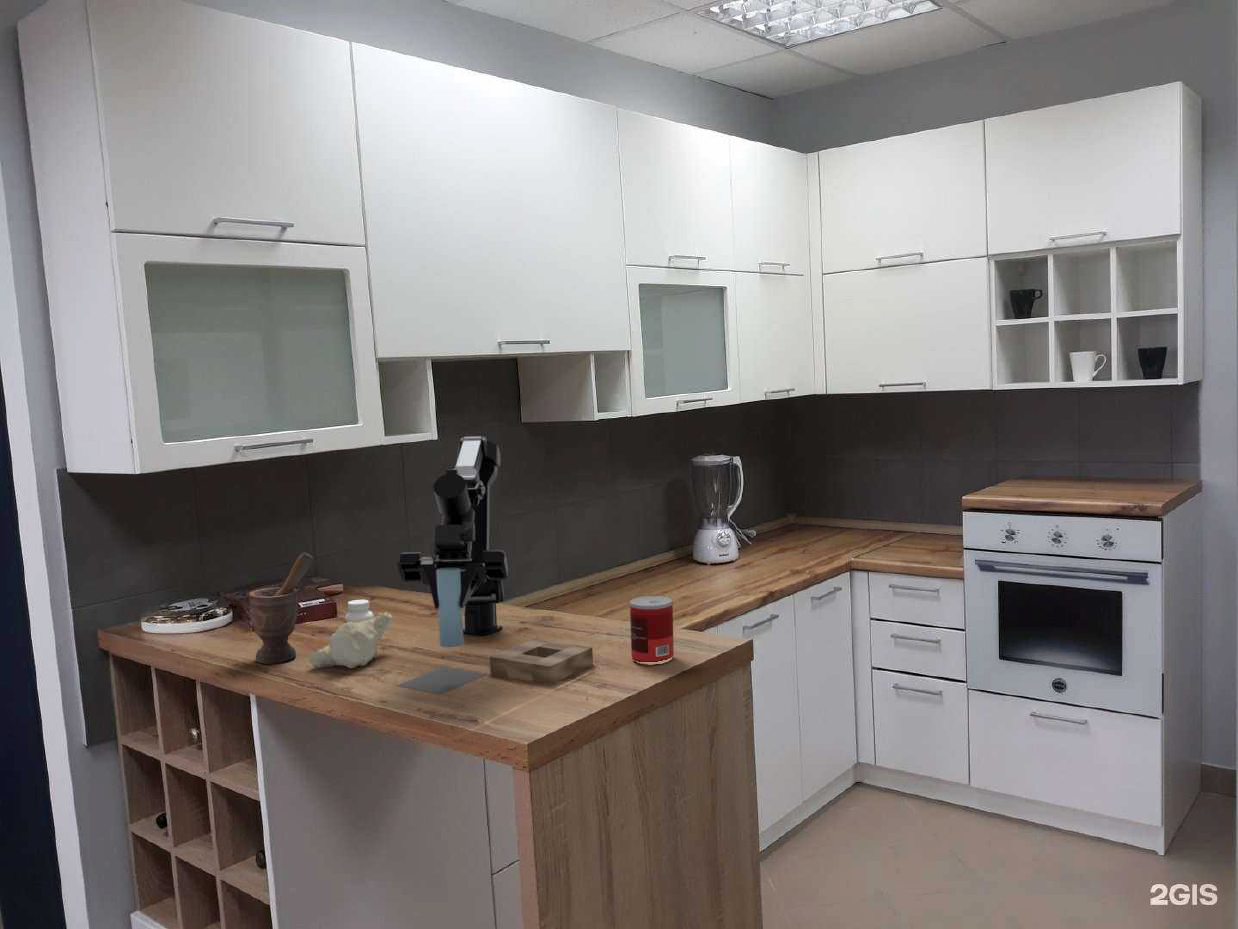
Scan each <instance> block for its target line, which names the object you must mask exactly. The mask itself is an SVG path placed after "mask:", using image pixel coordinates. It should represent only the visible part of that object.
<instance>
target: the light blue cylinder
mask: <svg viewBox="0 0 1238 929" xmlns="http://www.w3.org/2000/svg"><path fill="white" fill-rule="evenodd" d="M437 591H438V609H437V610H438V628H439V633H438V634H439V646H440V647H444V648H456V647H461V646H463V645H464V633H463V629H464V624H463V608H461V607H460V597H461V576H460V568H454V567H450V568H441V569H438V570H437Z"/></svg>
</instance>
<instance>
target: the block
mask: <svg viewBox="0 0 1238 929" xmlns="http://www.w3.org/2000/svg"><path fill="white" fill-rule="evenodd" d="M593 655H594V653H593V647H591V646H587V645H586V646H585V645H577V644H572V643H565V642H564V643H563V642H558V641H551V640H543V639H537V638H533V639H531V640H528V641H525V642H523V643H520V644H518V645H516V646H513V647H510V648H508V649H506V650H503V651H501V652H498V653H495V654H493V655H491V656H490V657H489V666H490V667H489V670H490V672H489V673H490V675H491V676H492V675H493V676H498V677H504V678H509V679H515V680H521V681H527V682H532V683H538V684H544V685H550V686H551V685H553V684H555V683H558V682H560V681H562V680H564V679H565V678H568V677H570V676H572V675H574V674H576V673H578V672H580V671H583V670H585V669H587V668H588V667H591V666H593V665H594V658H593V657H594V656H593Z"/></svg>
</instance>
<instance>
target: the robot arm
mask: <svg viewBox="0 0 1238 929" xmlns="http://www.w3.org/2000/svg"><path fill="white" fill-rule="evenodd" d="M459 441H460V443H459V444H458V445H457V455H456V456H457V458H456V463H455V466H454V468H453V469H446V470H445V474H443V475H441V476H440V477H438V478H437V479H436V480H435V482H434V483H433V485H432V486H433V489H432V490H433V493H434V496H435V497H434V498H435V500H436V504H437V507H438V511H439V514H440V515H442V519H441V524H438V525H437V524H436V525H434V526H433V545H434V554H435V556H437V558H435V557H433V556H423V553H422V552H421V551H414V552H411V551H409V552H408V551H407V552H406V551H405V552H401V553H400V554H399V555H398V556H397V561H396V566H397V569H398V571H399V572H398V573H399V575H400V577H401V580H402V581H403V582H405V583H408V582H409V583H413V582H414V583H415V582H416V583H422V584H423V585H424V586H428V587H429V589H430V593H431V596H432V600H433V605H434V609H435V610H438V591H437V570H438V569H441V568H450V567H454V568H460V576H461V597H460V607H461V608H462V609H464V627H463V634H470V635H475V636H476V635H478V636H486V635H489V634H492V633H494V632H498V631H500V630H503V628H504V627H503V625H498V622H497V620H498V618H497V604H500V603H502V602H504V601H505V598H504V596H505V595H504V593H505V592H504V587H503V586H504V585H503V580H506V579H507V578H508V576H509V575H508V574H509V569H508V568H509V565H508V559H507V556H506V555H507V554H506V552H505V551H504V550H503V549H490V504H491V503H490V500H491V499H490V494H491V492H490V489H491V486H492V485H493V484H494V481H495V480H497V477H498V470H499V468H498V467H501V451H500V449H499V446H498V444H496V443H495V442H492V441H490V440H488V439H487V438H486V436H482V435H478V436H477V435H475V436H474V435H473V436H468V435H467V436H463V437H461V438H460V440H459Z"/></svg>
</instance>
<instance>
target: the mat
mask: <svg viewBox="0 0 1238 929" xmlns="http://www.w3.org/2000/svg"><path fill="white" fill-rule="evenodd" d="M484 676H487V674H486V673H479V672H475V671H469V670H464V669H457V668H451V667H447V666H446V667H445V666H442V667H440V668H437V669H434V670H431V671H430V672H427V673H425V674H421V675H419V676H417V677H415V678H411V679H409V680H407V681H405V682H402V683H399V684H397V685H395V686H396V687H400V688H405V689H411V690H415V691H420V692H426V693H431V694H436V695H442V694H444V693H448V692H449V691H451V690H453V689H457V688H458V687H461V686H463V685H465V684H468V683H470V682H473V681H475V680H478V679H480V678H482V677H484Z"/></svg>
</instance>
